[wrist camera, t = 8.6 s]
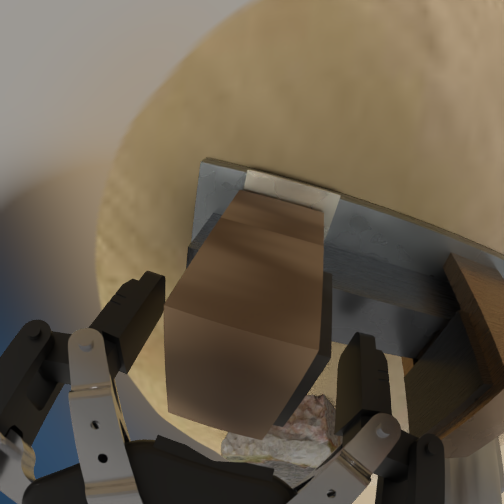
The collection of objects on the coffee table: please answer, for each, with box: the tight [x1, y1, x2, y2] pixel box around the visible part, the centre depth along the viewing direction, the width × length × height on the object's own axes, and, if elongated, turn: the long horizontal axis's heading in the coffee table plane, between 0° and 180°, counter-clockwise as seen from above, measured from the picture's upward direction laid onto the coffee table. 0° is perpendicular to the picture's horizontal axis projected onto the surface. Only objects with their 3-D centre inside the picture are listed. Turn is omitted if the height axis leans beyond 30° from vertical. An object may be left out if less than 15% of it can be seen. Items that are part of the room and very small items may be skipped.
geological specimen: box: [221, 394, 343, 487], centre depth 26 cm, size 11×6×15 cm
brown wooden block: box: [164, 190, 332, 440], centre depth 12 cm, size 5×6×8 cm
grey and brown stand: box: [186, 158, 504, 458], centre depth 13 cm, size 20×8×9 cm, turn 79°
